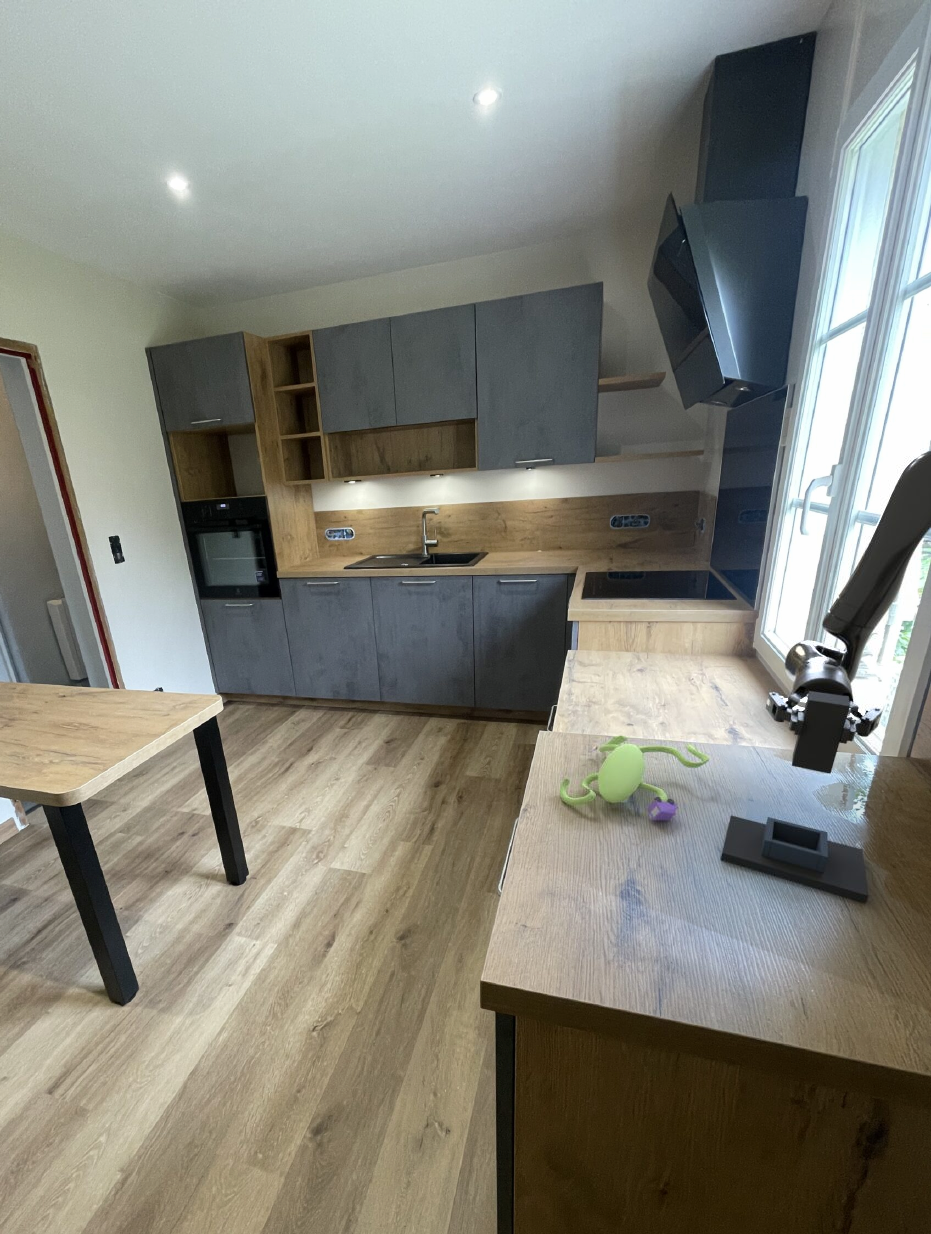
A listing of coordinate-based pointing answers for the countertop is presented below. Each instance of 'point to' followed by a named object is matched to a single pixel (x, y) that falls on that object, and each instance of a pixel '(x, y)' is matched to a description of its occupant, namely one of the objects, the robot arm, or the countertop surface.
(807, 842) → the black socket base
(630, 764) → the figurine
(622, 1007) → the countertop surface
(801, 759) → the black rectangular block
